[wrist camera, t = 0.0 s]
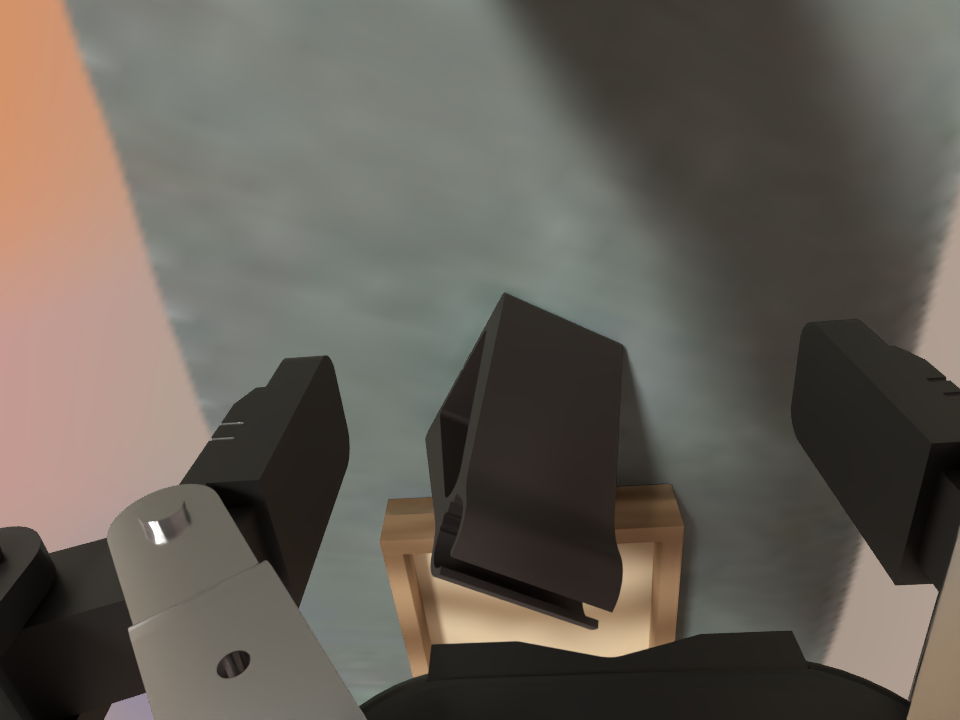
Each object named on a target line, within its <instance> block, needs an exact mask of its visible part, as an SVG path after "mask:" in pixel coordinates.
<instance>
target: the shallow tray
mask: <svg viewBox="0 0 960 720" xmlns="http://www.w3.org/2000/svg"><path fill="white" fill-rule="evenodd" d="M683 535H684V524H683V520H682V517H681V514H680V511H679V508H678V505H677V501H676V498H675V495H674V492H673V489H672V486H671V484H661V485H643V486H625V487H616V500H615V536H616V542H617V546H618V550H619V552H620V555H621V558H622V564H623V578H622V586H621V591H620V595H619V598H618V601H617V604H616V606H615V608H614V610H613V612H612V613H611V612H609V611H606V610H603V609H600V608H597V607H594V606H591V605H588V604H586V603H583V610H584V613H585V616H588V617H591V618H594V619H596V620H599V622H598V629H596V630H589V629H586V628H584V627H581V626H578V625H575V624H572V623H569V622H566V621H563V620H560V619H557V618H554V617H551V616H548V615H545V614H542V613H539V612H536V611H533V610H530V609H527V608H524V607H522V606H519V605H516V604H513V603H510V602H507V601H504V600H501V599H498V598H495V597H492V596H489V595H486V594H483V593H480V592H477V591H474V590H471V589H468V588H465V587H462V586H460V585H457V584H454V583H451V582H448V581H445V580H442V579H439V578H436V577H433V576H432V574H431V569H430V565H431V555H432V550H433V544H434V536H435V516H434V508H433V499H432V497H426V498H407V499H389V500H388V503H387V508H386V513H385V518H384V523H383V528H382V533H381V538H380V544H381V549H382V553H383V557H384V561H385V565H386V569H387V573H388V577H389V581H390V585H391V589H392V593H393V597H394V601H395V605H396V610H397V614H398V618H399V622H400V626H401V630H402V634H403V638H404V642H405V646H406V650H407V654H408V658H409V662H410V666H411V671H412V675H413V678H414V677H418V676H421V675H424V674H428V670H429V662H430V653H431V644H456V643H482V642H508V641H519V642H525V643H530V644H536V645H541V646H547V647H552V648H557V649H563V650H568V651H574V652H579V653H585V654H590V655H595V656H601V657H618V656H623V655H626V654H630V653H634V652H637V651H641V650H645V649H648V648H652V647H656V646H659V645H663V644H667V643H670V642H674V641H675V634H676V621H677V609H678V597H679V584H680V572H681V560H682V548H683Z"/></svg>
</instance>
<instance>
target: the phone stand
mask: <svg viewBox="0 0 960 720" xmlns="http://www.w3.org/2000/svg"><path fill="white" fill-rule="evenodd" d="M622 353H623V345H622V344H620V343H618V342H616V341H613V340H611V339H609V338H606V337H604V336H602V335H600V334H597V333H595V332H593V331H591V330H588V329H586V328H584V327H582V326H579V325H577V324H575V323H572V322H570V321H568V320H566V319H563V318H561V317H559V316H557V315H554V314H552V313H550V312H548V311H545V310H543V309H541V308H539V307H536V306H534V305H532V304H529V303H527V302H525V301H523V300H520V299H518V298H516V297H514V296H511V295H509V294H507V293H503V295H502V297H501V298H500V300H499V302H498V304H497V306H496V308H495V309H494V311H493V313H492V315H491V317H490V319H489V320H488V322H487V324H486V326H485V328H484V330H483V331H482V333H481V335H480V337H479V339H478V341H477V342H476V344H475V346H474V348H473V350H472V352H471V353H470V355H469V357H468V359H467V361H466V363H465V365H464V368H463V370H461V372H460V374H459V375H458V377H457V379H456V381H455V383H454V385H453V386H452V388H451V390H450V392H449V394H448V396H447V397H446V399H445V401H444V403H443V405H442V407H441V408H440V410H439V412H438V414H437V416H436V418H435V419H434V421H433V423H432V425H431V427H430V429H429V431H428V433H427V436H426V449H427V457H428V466H429V474H430V482H431V491H432V499H433V508H434V516H435V536H434V544H433V550H432V555H431V565H430V569H431V574H432V576H433V577H436V578H439V579H442V580H445V581H448V582H451V583H454V584H457V585H460V586H462V587H465V588H468V589H471V590H474V591H477V592H480V593H483V594H486V595H489V596H492V597H495V598H498V599H501V600H504V601H507V602H510V603H513V604H516V605H519V606H522V607H524V608H527V609H530V610H533V611H536V612H539V613H542V614H545V615H548V616H551V617H554V618H557V619H560V620H563V621H566V622H569V623H572V624H575V625H578V626H581V627H584V628H586V629H589V630H596V629H598V622H599V620H596V619H594V618H591V617H588V616H585V613H584V610H583V603H586V604H588V605H591V606H594V607H597V608H600V609H603V610H606V611H609V612H611V613H612V612H613V610H614V608H615V606H616V604H617V601H618V598H619V595H620V591H621V586H622V578H623V564H622V558H621V555H620V552H619V550H618V546H617V542H616V536H615V500H616V479H617V458H618V437H619V416H620V395H621V374H622Z"/></svg>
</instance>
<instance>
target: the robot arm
mask: <svg viewBox="0 0 960 720" xmlns="http://www.w3.org/2000/svg"><path fill="white" fill-rule="evenodd" d="M791 416H792V423H793V428H794V432H795V435H796V437H797V439H798V441H799V443H800V444H801V446H802V447H803V449H804V450H805V452H806V453H807V455H808V456H809V458H810V459H811V461H812V462H813V464H814V465H815V467H816V468H817V469H818V471H819V472H820V474H821V475H822V477H823V478H824V480H825V481H826V483H827V484H828V486H829V487H830V489H831V490H832V492H833V493H834V495H835V496H836V498H837V499H838V501H839V502H840V504H841V505H842V507H843V508H844V510H845V511H846V513H847V514H848V516H849V517H850V519H851V520H852V522H853V523H854V524H855V526H856V527H857V529H858V530H859V532H860V533H861V535H862V536H863V538H864V539H865V541H866V542H867V544H868V545H869V547H870V548H871V550H872V551H873V553H874V554H875V556H876V557H877V559H878V560H879V561H880V563H881V564H882V566H883V567H884V569H885V571H886V572H887V573H888V575H889V577H890V578H891V579H892V581H893V582H894V584H895V585H915V584H934V586H935V587H936V588H937V590H938V591H939V593H938V596H937V600H936V603H935V606H934V610H933V613H932V617H931V620H930V624H929V627H928V631H927V634H926V638H925V641H924V645H923V648H922V652H921V656H920V659H919V662H918V666H917V670H916V673H915V676H914V680H913V684H912V687H911V691H910V694H909V698H908V700H906V699H904V698H902V697H900V696H899V695H897V694H895V693H894V692H892V691H890V690H888V689H886V688H884V687H882V686H880V685H877V684H875V683H873V682H871V681H869V680H867V679H864V678H862V677H859V676H856V675H854V674H851V673H848V672H846V671H843V670H839V669H836V668H833V667H829V666H825V665H822V664H818V663H813V662H808V661H806V660H805V658H804V656H803V654H802V652H801V649H800V647H799V645H798V643H797V641H796V639H795V636H794V634H793V632H792V631H770V632H744V633H718V634H699V635H696V636H692V637H689V638H685V639H681V640H678V641H674V642H670V643H667V644H663V645H659V646H656V647H652V648H648V649H645V650H641V651H637V652H634V653H630V654H626V655H623V656H618V657H601V656H595V655H590V654H585V653H579V652H574V651H568V650H563V649H557V648H552V647H547V646H541V645H536V644H530V643H525V642H519V641H508V642H482V643H456V644H431V653H430V662H429V670H428V674H424V675H421V676H418V677H414V678H412V679H409V680H407V681H404V682H402V683H399V684H397V685H394V686H393V687H391V688H389V689H387V690H385V691H383V692H381V693H379V694H377V695H375V696H374V697H372V698H371V699H369V700H368V701H366V702H365V703H363V704H362V705H360V706H358V704H357V702H356V701H355V699H354V698H353V696H352V694H351V693H350V691H349V690H348V688H347V686H346V685H345V683H344V682H343V680H342V678H341V677H340V675H339V673H338V672H337V670H336V669H335V667H334V665H333V664H332V662H331V661H330V659H329V657H328V656H327V654H326V653H325V651H324V649H323V648H322V646H321V644H320V643H319V641H318V640H317V638H316V636H315V635H314V633H313V632H312V630H311V628H310V627H309V625H308V623H307V622H306V620H305V619H304V617H303V615H302V614H301V612H300V611H299V606H300V603H301V600H302V597H303V594H304V591H305V588H306V585H307V583H308V580H309V577H310V574H311V571H312V568H313V565H314V562H315V559H316V556H317V553H318V550H319V548H320V545H321V542H322V539H323V536H324V533H325V530H326V527H327V524H328V521H329V518H330V516H331V513H332V510H333V507H334V504H335V501H336V498H337V495H338V492H339V489H340V486H341V484H342V481H343V478H344V475H345V472H346V469H347V466H348V461H349V449H350V446H349V434H348V428H347V424H346V419H345V415H344V410H343V406H342V401H341V396H340V392H339V387H338V383H337V378H336V374H335V370H334V366H333V363H332V361H331V359H330V358H329V357H328V356H327V355H326V356H312V357H298V358H285V359H284V360H283V361H282V362H281V364H280V365H279V367H278V369H277V370H276V372H275V373H274V375H273V376H272V378H271V380H270V381H269V383H268V384H267V386H266V387H259V388H255V389H254V390H253V391H251V392H250V393H248V394H247V395H246V396H244V397H243V398H242V399H240V400H239V401H238V402H236V403H235V404H234V405H233V406H232V408H231V409H230V411H229V412H228V414H227V415H226V417H225V418H224V420H223V421H222V426H219V427H218V428H217V430H216V431H215V433H214V434H213V436H212V441H209V442H208V443H207V445H206V446H205V448H204V449H203V451H202V452H201V453H200V455H199V456H198V458H197V459H196V461H195V462H194V464H193V465H192V467H191V468H190V470H189V471H188V473H187V474H186V475H185V477H184V478H183V480H182V481H181V483H180V484H179V485H176V486H171V487H168V488H164V489H161V490H158V491H155V492H153V493H151V494H148V495H146V496H144V497H142V498H140V499H139V500H137V501H135V502H134V503H132V504H131V505H129V506H128V507H127V508H126V509H124V510H123V511H122V512H121V513H120V514H119V515H118V516H117V517H116V518H115V520H114V521H113V522H112V524H111V525H110V528H109V530H108V534H107V538H105V539H101V540H98V541H94V542H90V543H86V544H82V545H79V546H75V547H71V548H67V549H64V550H60V551H56V552H52V553H48V551H47V549H46V547H45V546H44V543H43V541H42V540H41V538H40V536H39V534H38V533H37V532H36V531H34V530H33V529H30V528H27V527H19V526H18V527H6V528H0V720H104V718H105V716H106V714H107V712H108V710H109V708H110V706H111V704H112V703H115V702H118V701H121V700H124V699H127V698H131V697H134V696H137V695H140V694H143V693H147V697H148V700H149V704H150V707H151V711H152V714H153V718H154V720H960V389H959V388H958V387H957V386H956V385H955V384H954V383H952V382H951V381H946V377H945V376H944V375H943V374H942V373H941V372H939V371H938V370H937V369H936V368H934V367H933V366H932V365H931V364H930V363H929V362H927V361H926V360H925V359H923V358H921V357H918V356H916V355H914V354H912V353H909V352H907V351H905V350H903V349H901V348H898V347H896V346H889V345H888V344H886V343H885V342H884V341H883V340H882V339H881V338H880V337H879V336H877V335H876V334H875V333H874V332H873V331H872V330H871V329H870V328H868V327H867V326H866V325H865V324H864V323H863V322H862V321H860V320H858V319H850V320H836V321H822V322H809V323H807V324H806V325H805V327H804V328H803V331H802V334H801V338H800V345H799V353H798V360H797V367H796V375H795V382H794V389H793V397H792V405H791Z"/></svg>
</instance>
